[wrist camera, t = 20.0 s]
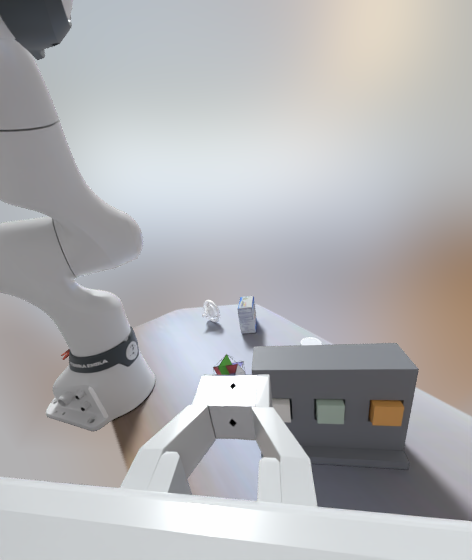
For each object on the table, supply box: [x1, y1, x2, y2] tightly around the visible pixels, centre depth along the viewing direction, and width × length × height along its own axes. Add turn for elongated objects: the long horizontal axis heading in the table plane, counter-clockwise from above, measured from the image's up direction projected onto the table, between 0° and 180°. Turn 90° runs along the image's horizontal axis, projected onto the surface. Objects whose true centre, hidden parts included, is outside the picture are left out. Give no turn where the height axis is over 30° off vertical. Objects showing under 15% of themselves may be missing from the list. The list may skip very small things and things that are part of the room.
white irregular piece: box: [202, 300, 220, 322], centre depth 73 cm, size 8×6×8 cm
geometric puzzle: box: [213, 354, 246, 375], centre depth 48 cm, size 7×7×8 cm
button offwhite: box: [272, 398, 291, 423], centre depth 33 cm, size 3×3×3 cm
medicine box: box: [238, 296, 256, 334], centre depth 68 cm, size 8×4×9 cm, turn 174°
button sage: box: [314, 399, 345, 424], centre depth 31 cm, size 3×3×3 cm
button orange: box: [368, 400, 404, 426], centre depth 30 cm, size 3×3×3 cm
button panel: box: [252, 343, 419, 470], centre depth 33 cm, size 20×7×16 cm, turn 82°
